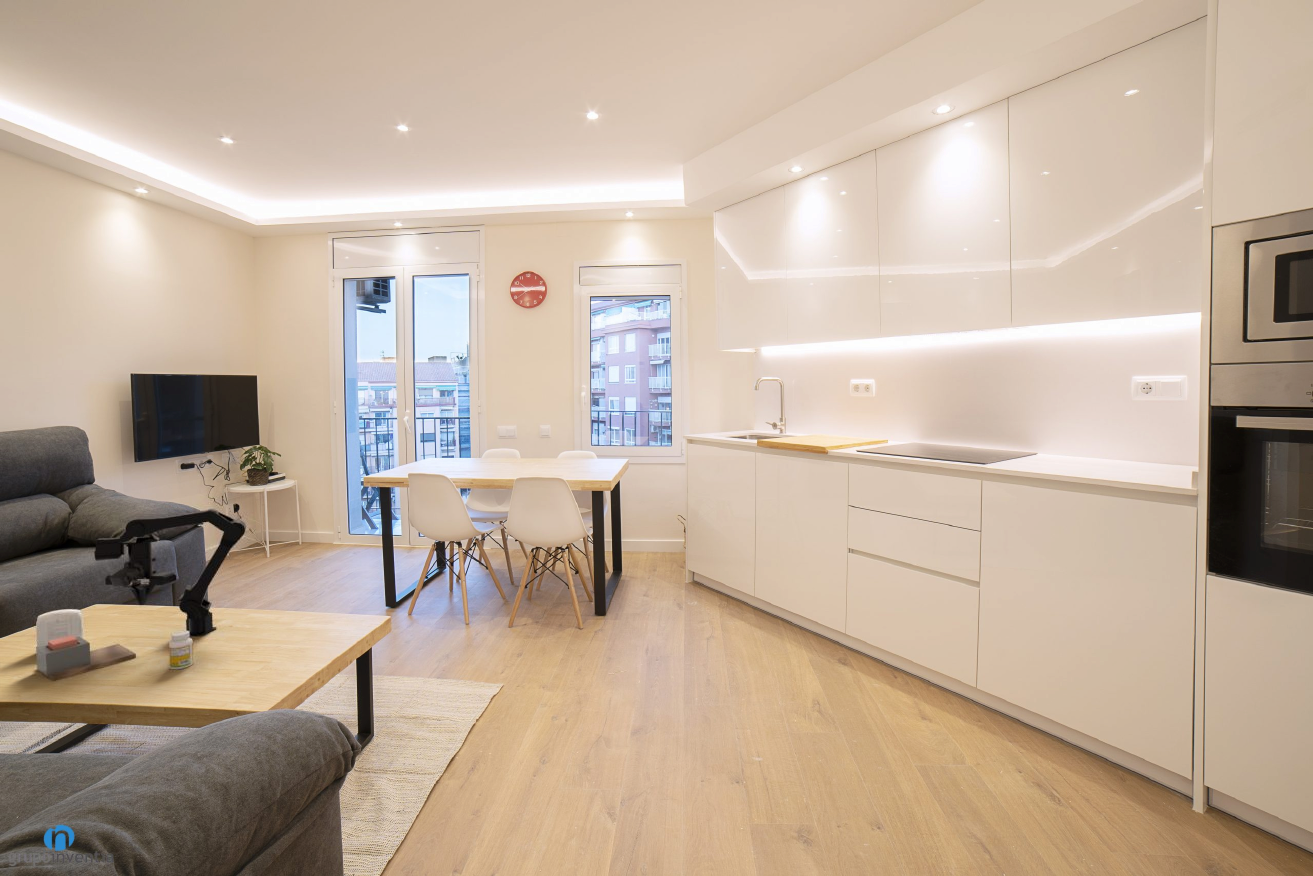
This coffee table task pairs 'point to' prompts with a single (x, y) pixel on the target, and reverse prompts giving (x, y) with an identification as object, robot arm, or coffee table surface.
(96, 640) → the coffee table surface
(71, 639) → the plug
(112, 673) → the coffee table surface
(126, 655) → the board
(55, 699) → the coffee table surface
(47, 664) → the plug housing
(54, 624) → the photo printer
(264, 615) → the coffee table surface
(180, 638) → the supplement bottle
